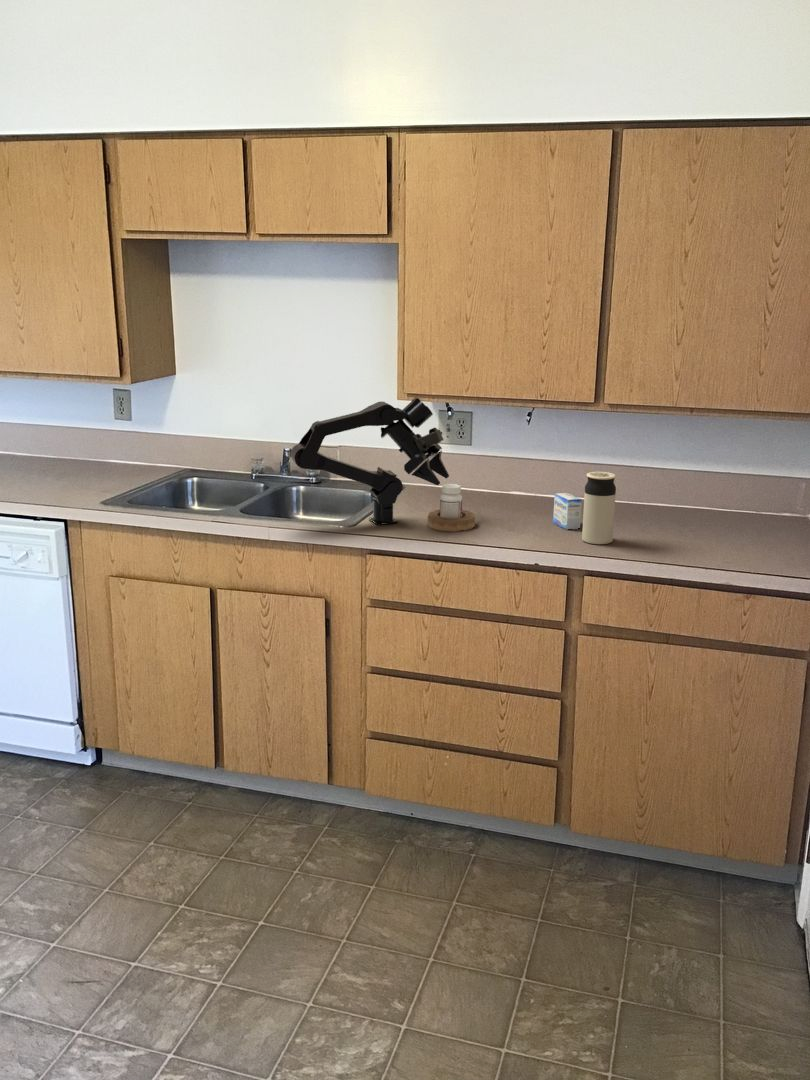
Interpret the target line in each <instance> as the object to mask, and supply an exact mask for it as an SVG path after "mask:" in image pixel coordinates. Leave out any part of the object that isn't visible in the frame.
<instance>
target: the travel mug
mask: <svg viewBox="0 0 810 1080" xmlns="http://www.w3.org/2000/svg"><path fill="white" fill-rule="evenodd" d="M586 477H587V482H586V483H585V485H584V499H583V500H584V501H583V512H582V513H583V516H582V533H581V534H582V535H581V536H582V537H581V540H582V541H584V542H585V543H587V544H590V545H608V544H610V543H613V540H614V538H613V537H614V526H615V524H614V523H615V506H616V496H617V495H616V494H617V493H616V491H617V487H616V485H615V478H616V477H617V476H616V474H614V473H613V472H608V471H592V472H591V471H590V472H587V473H586Z"/></svg>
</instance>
